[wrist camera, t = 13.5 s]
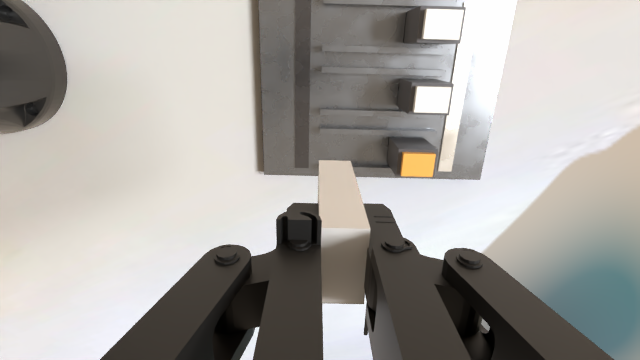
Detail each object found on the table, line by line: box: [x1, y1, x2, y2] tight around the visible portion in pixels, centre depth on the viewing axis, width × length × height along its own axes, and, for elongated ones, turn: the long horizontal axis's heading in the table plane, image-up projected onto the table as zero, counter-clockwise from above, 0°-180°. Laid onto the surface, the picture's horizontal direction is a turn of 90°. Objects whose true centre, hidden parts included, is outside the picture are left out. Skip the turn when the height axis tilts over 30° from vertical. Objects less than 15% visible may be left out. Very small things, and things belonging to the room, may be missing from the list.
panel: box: [259, 0, 517, 180], centre depth 38 cm, size 26×20×2 cm
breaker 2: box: [397, 78, 454, 115], centre depth 35 cm, size 4×3×6 cm
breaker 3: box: [387, 137, 438, 178], centre depth 37 cm, size 4×3×6 cm
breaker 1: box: [404, 6, 466, 44], centre depth 33 cm, size 4×3×6 cm
